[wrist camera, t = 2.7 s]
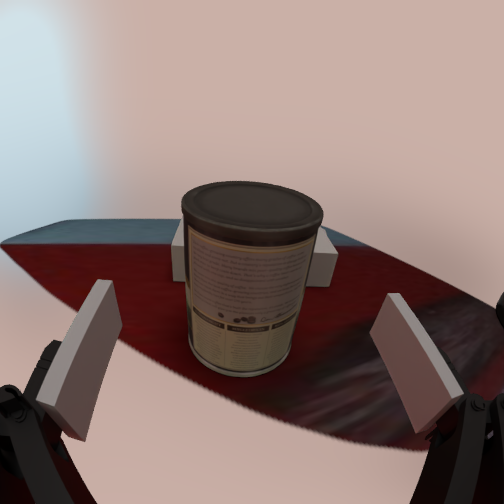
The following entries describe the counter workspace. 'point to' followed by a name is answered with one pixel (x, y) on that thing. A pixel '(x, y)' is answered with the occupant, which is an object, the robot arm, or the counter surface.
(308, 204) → the coffee can
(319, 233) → the kitchen scale
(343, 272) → the counter surface
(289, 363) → the counter surface
